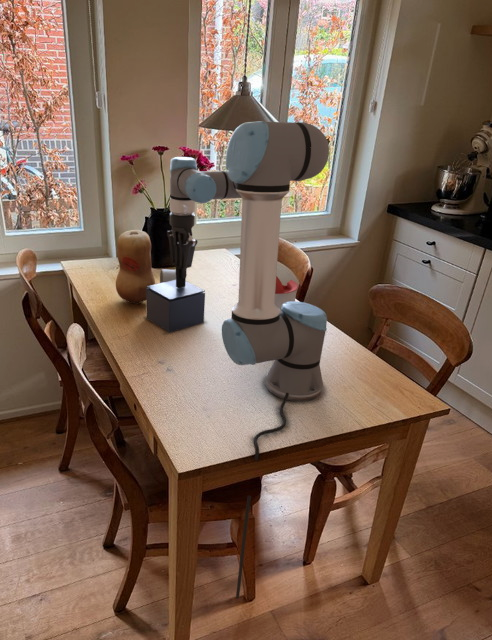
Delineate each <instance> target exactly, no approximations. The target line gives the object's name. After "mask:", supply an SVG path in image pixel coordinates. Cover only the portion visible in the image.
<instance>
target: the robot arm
mask: <svg viewBox="0 0 492 640" xmlns="http://www.w3.org/2000/svg"><path fill="white" fill-rule="evenodd" d="M329 156H330V146H329V142H328V139H327V137H326V135H325V134H324V133H323V131H322V130H321V129H320V128H318V127H317V126H315V125H313V124H312V123H311V124H310V123H307V122H301V121H299V122H293V121H292V122H290V121H289V122H287V121H265V120H264V121H263V120H260V121H247V122H244V123H242V124H241V123H240V125H239V126H237V127H236V128H235V129H234V131H233V133H232V134H231V136H230V138H229V141H228V143H227V148H226V153H225V168H226V170H212V171H211V170H209V171H208V170H206V171H205V170H204V171H201V170H198V167H197V160H196V158H193V157H189V156H175V157H172V158H171V159H170V168H169V181H170V182H169V211H170V213H169V226H171V230H167V231H166V235H167V239H168V245H169V254H170V261H171V264H173V265H174V266H175V270H176V287H178V288H181V287H185V284H186V281H187V280H186V279H187V269H189V268H192V266H193V261H194V256H195V250H196V247H197V245H198V242H199V241H198V239H195V238H194V237H193V231H192V229H193V228H194V226H195V223H196V222H195V221H196V217H195V216H196V214H195V211H196V203H197V204H207V203H209V202H210V201H212V200H227V199H228V200H229V199H241V223H240V224H241V225H240V246H239V247H240V250H239V251H240V252H239V276H238V277H239V278H238V300H237V301H238V302H236V304H235V305H234V306H232V308H231V318H227V319H226V320H223V323H222V325H221V339H222V344H223V346H224V350H225V351H226V353H227V356H228V357H229V358H230V360H231V361H232V362H233V363H234V364H235V365H238V366H249V365H252V366H253V365H256V364H261V363H266V362H272V364H271V366H270V368H269V369H268V372H267V374H266V376H265V387H266V389H267V391H269V393H271V394H273V395H274V396H276V397H278V398H280V399H282V402H281V404H280V406H279V414H280V417H281V419H282V424H281V425H280V426H278V427H274V428H270V429H265V430H262V431H260V432H258V433H257V434H256V435H254V437H253V439H252V440H253V441H252V442H253V446H254V461H256V462H257V461H259V457H260V448H259V444H258V439H259V438H260V437H262V436H263V435H266V434H272V433H277V432H279V431H281V430H283V429H284V428H285V427H286V425H287V418H286V415H285V413H284V407H285V404H286V403H287V401H290V402H291V401H292V402H309V401H312V400H315V399H317V398H318V397H320V396H321V395H322V393H323V388H324V381H323V380H324V379H323V375H322V370H321V359H322V353H323V346H324V343H325V342H324V341H325V337H326V332H327V323H328V316H327V314H326V312H325V311H324V310H323V309H321V308H320V307H318V306H316V305H314V304H310V303H307V302H303V301H296V300H295V301H290V302H286V303H284V304H283V305H282V307H281V310H282V311H281V312H280V309H279V308H278V307H277V306H276V305H275V289H276V276H277V274H278V272H277V271H278V261H279V259H278V257H279V241H280V229H281V215H282V200H283V198H284V197H285V196H287V195H288V194H289V193H290V187H291V186H290V185H291V182H302V181H306V180H310V179H313V178H315V177H316V176H318V175H319V174H321V172H322V171H323V170H324V169H325V167H326V165H327V163H328V161H329ZM251 500H252V495H247V497H246V505H245V513H244V520H243V530H242V539H241V546H240V547H241V548H240V556H239V565H238V576H237V583H236V584H237V586H236V593H235V599H236V600H238V599H239V598H240V592H241V585H242V584H241V583H242V576H243V567H244V566H243V565H244V557H245V549H246V540H247V532H248V531H247V530H248V524H249V515H250V507H251Z"/></svg>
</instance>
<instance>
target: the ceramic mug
mask: <svg viewBox="0 0 492 640" xmlns="http://www.w3.org/2000/svg"><path fill="white" fill-rule="evenodd" d="M159 271H160V272H159V283H163V282H164V283H165V282H169V281H173V280H176V269H167V268H165V269H164V268H161V269H160V270H159Z"/></svg>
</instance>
